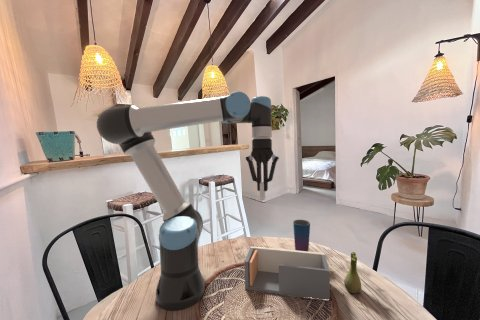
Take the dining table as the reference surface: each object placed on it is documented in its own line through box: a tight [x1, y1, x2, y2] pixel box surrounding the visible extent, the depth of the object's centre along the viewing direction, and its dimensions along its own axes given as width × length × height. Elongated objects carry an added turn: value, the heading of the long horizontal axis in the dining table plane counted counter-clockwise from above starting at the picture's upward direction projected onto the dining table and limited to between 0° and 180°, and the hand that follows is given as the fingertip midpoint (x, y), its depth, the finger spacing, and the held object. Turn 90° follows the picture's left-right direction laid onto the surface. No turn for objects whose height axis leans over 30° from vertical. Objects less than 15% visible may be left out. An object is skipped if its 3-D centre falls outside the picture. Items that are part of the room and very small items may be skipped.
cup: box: [292, 219, 311, 252], centre depth 89 cm, size 7×7×15 cm
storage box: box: [244, 246, 331, 299], centre depth 72 cm, size 26×11×10 cm, turn 76°
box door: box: [249, 250, 258, 286], centre depth 74 cm, size 9×1×8 cm, turn 163°
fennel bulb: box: [343, 251, 362, 294], centre depth 68 cm, size 6×5×12 cm
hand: (262, 199), depth 83 cm, fingers closed
